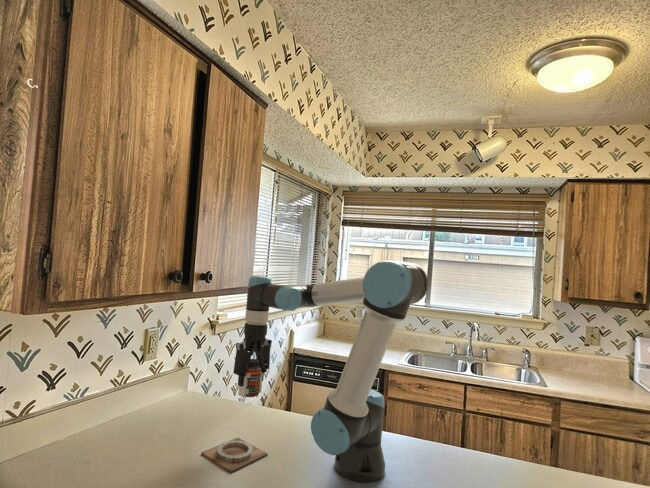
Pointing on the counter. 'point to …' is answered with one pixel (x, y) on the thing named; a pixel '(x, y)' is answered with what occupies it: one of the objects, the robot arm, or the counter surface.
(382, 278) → the robot arm
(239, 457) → the collar
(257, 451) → the seat board
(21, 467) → the counter surface
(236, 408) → the counter surface
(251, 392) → the supplement bottle
